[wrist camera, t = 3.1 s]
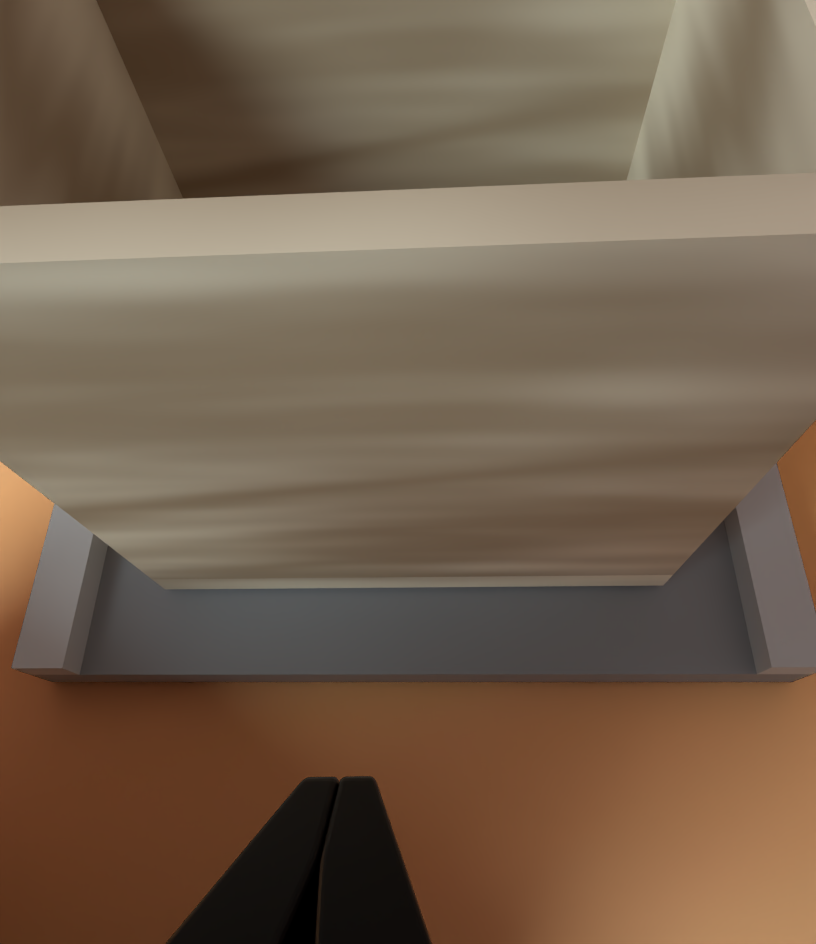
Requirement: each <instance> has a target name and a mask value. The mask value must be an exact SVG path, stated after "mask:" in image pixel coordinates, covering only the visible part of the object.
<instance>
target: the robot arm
mask: <svg viewBox="0 0 816 944" xmlns="http://www.w3.org/2000/svg"><path fill="white" fill-rule="evenodd" d="M166 944H432V943H431V940H430V937H429V934H428V931H427V928H426V925H425V922H424V919H423V916H422V914H421V911H420V908H419V905H418V902H417V899H416V896H415V893H414V890H413V887H412V884H411V882H410V879H409V876H408V873H407V870H406V867H405V864H404V861H403V858H402V855H401V852H400V850H399V847H398V844H397V841H396V838H395V835H394V832H393V829H392V826H391V823H390V820H389V817H388V815H387V812H386V809H385V806H384V803H383V800H382V797H381V794H380V791H379V788H378V785H377V783H376V780H375V779H374V778H373V777H371V776H354V777H343V778H342V779H341V780H340V782H339V780H338V779H337V778H336V777H308V778H306V779H304V780H303V781H302V782H301V783H300V784H299V785H298V786H297V787H296V788H295V790H294V791H293V792H292V793H291V794H290V796H289V797H288V798H287V799H286V800H285V802H284V803H283V804H282V805H281V806H280V808H279V809H278V810H277V811H276V812H275V814H274V815H273V816H272V817H271V818H270V820H269V821H268V822H267V823H266V824H265V825H264V827H263V828H262V829H261V830H260V831H259V833H258V834H257V835H256V836H255V837H254V839H253V840H252V841H251V842H250V843H249V845H248V846H247V847H246V848H245V849H244V850H243V852H242V853H241V854H240V855H239V856H238V858H237V859H236V860H235V861H234V862H233V864H232V865H231V866H230V867H229V868H228V870H227V871H226V872H225V873H224V874H223V876H222V877H221V878H220V879H219V880H218V882H217V883H216V884H215V885H214V886H213V887H212V889H211V890H210V891H209V892H208V893H207V895H206V896H205V897H204V898H203V899H202V901H201V902H200V903H199V904H198V905H197V907H196V908H195V909H194V910H193V911H192V912H191V914H190V915H189V916H188V917H187V918H186V920H185V921H184V922H183V923H182V924H181V926H180V927H179V928H178V929H177V930H176V932H175V933H174V934H173V935H172V936H171V938H170V939H169V940H168V941H167V942H166Z"/></svg>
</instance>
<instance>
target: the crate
mask: <svg viewBox="0 0 816 944" xmlns="http://www.w3.org/2000/svg"><path fill="white" fill-rule="evenodd" d="M815 420H816V0H0V461H1V462H2V463H3V464H4V465H6V466H7V467H8V468H10V469H11V470H12V471H13V472H15V473H16V474H17V475H19V476H20V477H21V478H22V479H24V480H25V481H26V482H28V483H29V484H30V485H31V486H33V487H34V488H35V489H37V490H38V491H39V492H40V493H42V494H43V495H44V496H46V497H47V498H48V499H49V500H51V501H52V502H53V503H55V504H56V505H57V506H58V507H60V508H61V509H62V510H64V511H65V512H66V513H67V514H69V515H70V516H71V517H73V518H74V519H75V520H76V521H78V522H79V523H80V524H82V525H83V526H84V527H85V528H87V529H88V530H89V531H91V532H92V533H93V534H94V535H96V536H97V537H98V538H100V539H101V540H102V541H103V542H105V543H106V544H107V545H109V546H110V547H111V548H112V549H114V550H115V551H116V552H118V553H119V554H120V555H121V556H123V557H124V558H125V559H127V560H128V561H129V562H130V563H132V564H133V565H134V566H136V567H137V568H138V569H139V570H141V571H142V572H143V573H145V574H146V575H147V576H148V577H150V578H151V579H152V580H154V581H155V582H156V583H157V584H159V585H160V586H161V587H163V588H164V589H287V588H413V587H539V586H663V585H664V584H665V583H666V582H667V581H668V580H669V579H670V578H671V576H672V575H673V574H674V573H675V572H676V571H677V570H678V569H679V568H680V567H681V566H682V565H683V563H684V562H685V561H686V560H687V559H688V558H689V557H690V556H691V555H692V554H693V553H694V552H695V550H696V549H697V548H698V547H699V546H700V545H701V544H702V543H703V542H704V541H705V540H706V539H707V537H708V536H709V535H710V534H711V533H712V532H713V531H714V530H715V529H716V528H717V527H718V526H719V524H720V523H721V522H722V521H723V520H724V519H725V518H726V517H727V516H728V515H729V514H730V513H731V511H732V510H733V509H734V508H735V507H736V506H737V505H738V504H739V503H740V502H741V501H742V500H743V498H744V497H745V496H746V495H747V494H748V493H749V492H750V491H751V490H752V489H753V488H754V487H755V485H756V484H757V483H758V482H759V481H760V480H761V479H762V478H763V477H764V476H765V475H766V474H767V472H768V471H769V470H770V469H771V468H772V467H773V466H774V465H775V464H776V463H777V462H778V461H779V459H780V458H781V457H782V456H783V455H784V454H785V453H786V452H787V451H788V450H789V449H790V448H791V446H792V445H793V444H794V443H795V442H796V441H797V440H798V439H799V438H800V437H801V436H802V435H803V433H804V432H805V431H806V430H807V429H808V428H809V427H810V426H811V425H812V424H813V423H814V422H815Z"/></svg>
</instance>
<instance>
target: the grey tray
mask: <svg viewBox="0 0 816 944" xmlns="http://www.w3.org/2000/svg"><path fill="white" fill-rule="evenodd" d="M11 668H12V669H15V670H18V671H21V672H24V673H27V674H30V675H33V676H36V677H39V678H42V679H45V680H48V681H51V682H793V681H796V680H798V679H801V678H804V677H806V676H809V675H811V674H814V673H816V612H815V608H814V604H813V600H812V596H811V593H810V589H809V585H808V581H807V577H806V573H805V570H804V566H803V562H802V558H801V554H800V550H799V547H798V543H797V539H796V535H795V531H794V527H793V524H792V520H791V516H790V512H789V508H788V504H787V501H786V497H785V493H784V489H783V485H782V481H781V478H780V474H779V470H778V466H777V463H776V464H775V465H774V466H773V467H772V468H771V469H770V470H769V471H768V472H767V474H766V475H765V476H764V477H763V478H762V479H761V480H760V481H759V482H758V483H757V484H756V485H755V487H754V488H753V489H752V490H751V491H750V492H749V493H748V494H747V495H746V496H745V497H744V498H743V500H742V501H741V502H740V503H739V504H738V505H737V506H736V507H735V508H734V509H733V510H732V511H731V513H730V514H729V515H728V516H727V517H726V518H725V519H724V520H723V521H722V522H721V523H720V524H719V526H718V527H717V528H716V529H715V530H714V531H713V532H712V533H711V534H710V535H709V536H708V537H707V539H706V540H705V541H704V542H703V543H702V544H701V545H700V546H699V547H698V548H697V549H696V550H695V552H694V553H693V554H692V555H691V556H690V557H689V558H688V559H687V560H686V561H685V562H684V563H683V565H682V566H681V567H680V568H679V569H678V570H677V571H676V572H675V573H674V574H673V575H672V576H671V578H670V579H669V580H668V581H667V582H666V583H665V584H664V585H663V586H539V587H413V588H287V589H164V588H163V587H161V586H160V585H159V584H157V583H156V582H155V581H154V580H152V579H151V578H150V577H148V576H147V575H146V574H145V573H143V572H142V571H141V570H139V569H138V568H137V567H136V566H134V565H133V564H132V563H130V562H129V561H128V560H127V559H125V558H124V557H123V556H121V555H120V554H119V553H118V552H116V551H115V550H114V549H112V548H111V547H110V546H109V545H107V544H106V543H105V542H103V541H102V540H101V539H100V538H98V537H97V536H96V535H94V534H93V533H92V532H91V531H89V530H88V529H87V528H85V527H84V526H83V525H82V524H80V523H79V522H78V521H76V520H75V519H74V518H73V517H71V516H70V515H69V514H67V513H66V512H65V511H64V510H62V509H61V508H60V507H58V506H57V505H56V504H54V508H53V511H52V515H51V519H50V523H49V527H48V530H47V534H46V538H45V542H44V546H43V549H42V553H41V557H40V561H39V564H38V568H37V572H36V576H35V580H34V583H33V587H32V591H31V595H30V599H29V602H28V606H27V610H26V614H25V618H24V621H23V625H22V629H21V633H20V636H19V640H18V644H17V648H16V652H15V655H14V659H13V663H12V667H11Z"/></svg>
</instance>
